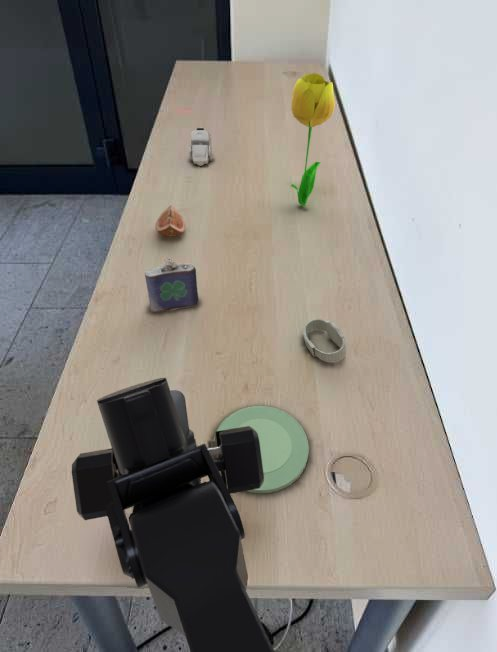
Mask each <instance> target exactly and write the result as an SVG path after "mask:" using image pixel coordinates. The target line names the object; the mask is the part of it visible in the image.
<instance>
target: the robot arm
mask: <svg viewBox="0 0 497 652" xmlns="http://www.w3.org/2000/svg"><path fill="white" fill-rule="evenodd" d="M96 403H97V406H98V409H99V412H100V415H101V418H102V421H103V425H104V428H105V431H106V434H107V438H108V440H109V444H110V446H111V448H106V449H99V450H93V451H87V452H83V453H82V452H81V453H79V454H78V455H77V457H76V458H75V459H74V461H73V462H72V463H71V478H72V486H73V495H74V500H75V507H76V509H75V510H76V512H77V514H78V516H79V517H81V519H83V520H84V521H88V520H89V521H90V520H94V519H99V518H105V517H107V519H108V520H107V521H108V523H109V527H110V530H111V533H112V539H113V542H114V545H115V549H116V552H117V553H116V554H117V556H118V560H119V564H120V567H121V570H122V573H123V575H125V576H127V577H130V578H131V579H132V580H134V581H135V584H136V587H137V588H138V589H139V588H141V587H143V586H146V585H147V586H148V589H149V592H150V595H151V598H152V600H153V604H154V606H155V610H156V612H157V615H158V618H159V619H160V621H162V622H163V623H165V624H166V625H168V626H170V627H171V628H173V629H174V630H175V631H177V632H179V633H180V634H181V635H182V636H184V637H185V640H186V644H187V646H188V649H189V652H276V651H275V649H274V647H273V644H272V643H271V640H270V638H269V637H268V634H267V633H266V631H265V627H264V626H263V624H262V621H261V620H260V618H259V615H258V613H257V611H256V609H255V607H254V605H253V603H252V600H251V599H250V596H249V595H248V593H247V586H248V580H249V575H248V569H247V565H246V559H245V553H244V548H243V544H242V541H243V540H244V539H246V538H245V537H246V533H245V528H244V524H243V522H242V521H243V520H242V518H241V515H240V513H239V510H238V508H237V505H236V503H235V501H234V498H233V497H232V494H237V493H243V492H248V490H253V489H259V488H260V487H261V485H262V484H263V482H264V473H263V465H262V458H261V450H260V442H259V437H258V433H257V432H256V431H255V430H254V429H253V428H251V427H250V426H247V427H240V428H234V429H228V430H222V431H217V430H216V431H215V434H214V436H215V440H214V439H211V440H207V445H206V444H205V443H202V444H200V445H197V439H196V438H195V433H194V431H193V430H192V429H190V426H189V418H188V417H189V416H188V409H187V402H186V397H185V395H184V393H183V392H182V391H180V390H177V389H174V390H171V389H170V385H169V382H168V380H167V377H159V378H155V379H151V380H147V381H142V382H140V383H137V384H134V385H130V386H127V387H125V388H122V389H119V390H117V391H114V392H111V393H109V394H107V395H104V396H102V397H100V398H98V399H97V400H96ZM206 477H208V481H204V482H202V480H201V479H203V478H206ZM130 508H132V511H131V513H130V514H129V515H128V517H127V514H126V510H128V509H130Z"/></svg>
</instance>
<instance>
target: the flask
mask: <svg viewBox="0 0 497 652" xmlns="http://www.w3.org/2000/svg"><path fill="white" fill-rule="evenodd" d="M164 261H165V264H164V265H162V266H158V267H154V268H153V267H152V268H150V269H147V270H146V271H145V272H144V278H145V283H146V289H147V297H148V301H149V307H150V310H151V312H152V313H159V314H160V313H164V312H173V311H176V310H178V309H181V310H182V309H184V308H186V309H187V308H195V307H197V305H199V293H198V281H197V280H198V279H197V269H196V267H195V265H194V264H192V263H187V262H186V263H185V262H184V263H176V262H174V261H173V260H172V257H167V258H165V259H164ZM172 261H173V262H172Z"/></svg>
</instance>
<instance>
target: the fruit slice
mask: <svg viewBox="0 0 497 652" xmlns="http://www.w3.org/2000/svg"><path fill="white" fill-rule="evenodd" d="M186 228H187V227H186V222H185V220H184V219H183V217H182V215H181V214H180V213H179V211H178V210H177V209H176V208H175V207H174V206H172V205H169V206H168V207H167V208H166V209H164V210H163V211H162V212H161V213H160V215H159V216H158V218H157V219H156V223H155V230H156V231H157V232H158V233H159V234H161V235H164V236H166V237H175V236H179V235H181V234H183V233H184V232H185V231H186Z"/></svg>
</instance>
